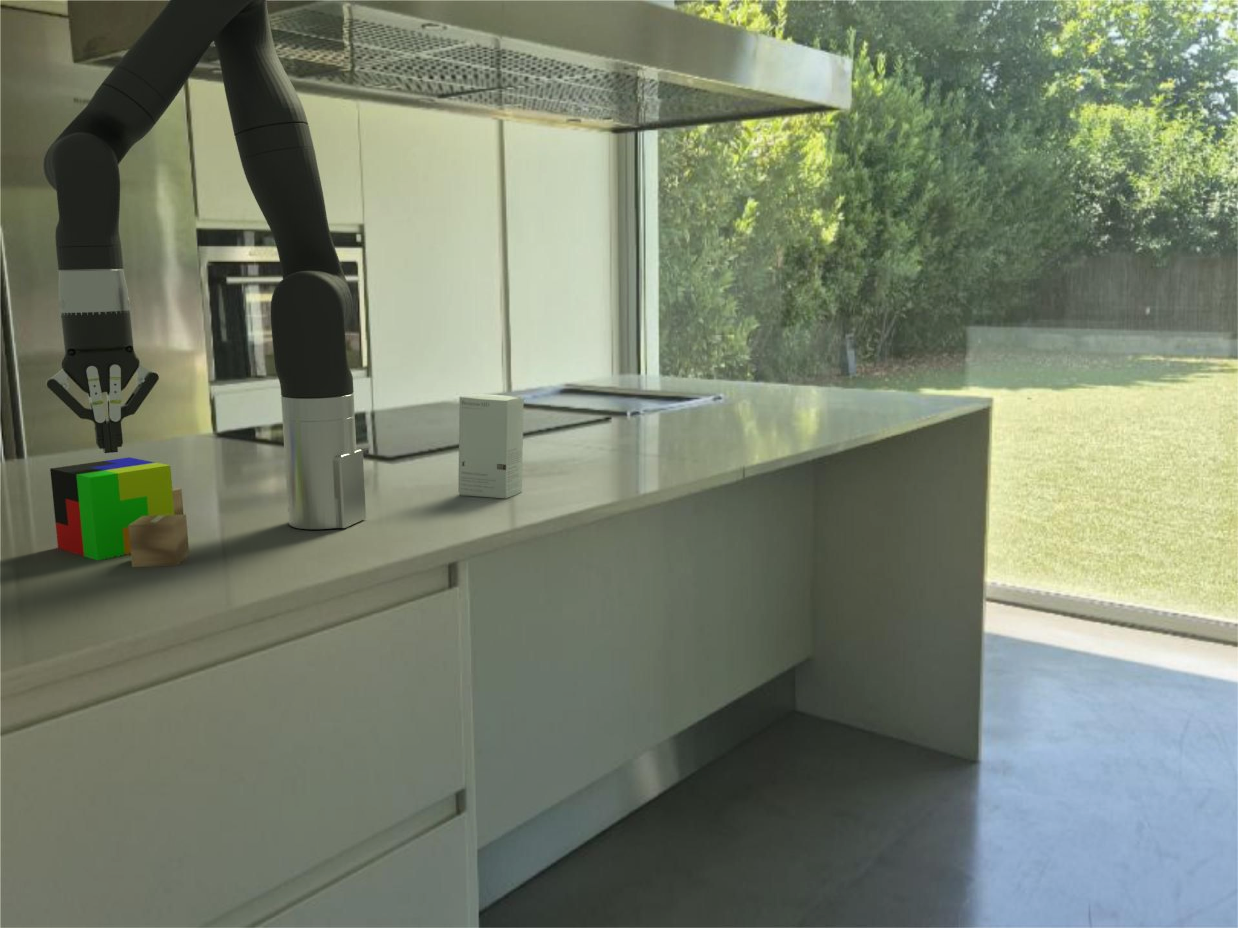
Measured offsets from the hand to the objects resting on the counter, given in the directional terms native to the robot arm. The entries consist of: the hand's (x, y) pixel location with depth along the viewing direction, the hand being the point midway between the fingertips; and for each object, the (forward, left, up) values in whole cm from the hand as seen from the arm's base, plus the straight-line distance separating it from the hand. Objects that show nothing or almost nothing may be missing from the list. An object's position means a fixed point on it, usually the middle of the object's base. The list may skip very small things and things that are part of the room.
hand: (110, 451), depth 137 cm
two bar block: (+2, -10, -12) cm, 16 cm away
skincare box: (-34, -40, -12) cm, 54 cm away
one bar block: (-10, +5, -12) cm, 16 cm away
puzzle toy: (0, 0, -12) cm, 12 cm away
